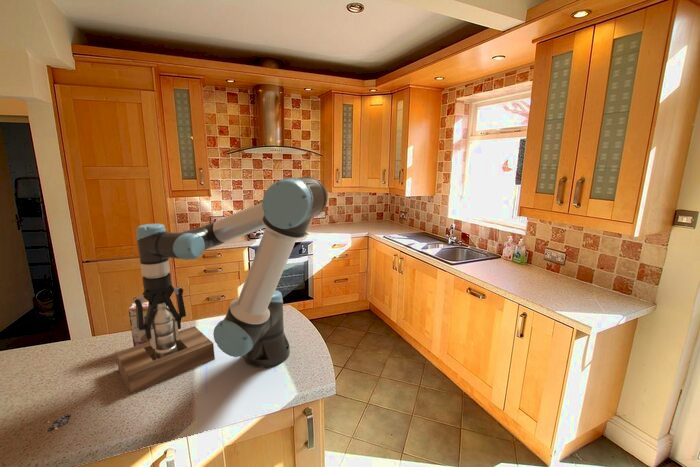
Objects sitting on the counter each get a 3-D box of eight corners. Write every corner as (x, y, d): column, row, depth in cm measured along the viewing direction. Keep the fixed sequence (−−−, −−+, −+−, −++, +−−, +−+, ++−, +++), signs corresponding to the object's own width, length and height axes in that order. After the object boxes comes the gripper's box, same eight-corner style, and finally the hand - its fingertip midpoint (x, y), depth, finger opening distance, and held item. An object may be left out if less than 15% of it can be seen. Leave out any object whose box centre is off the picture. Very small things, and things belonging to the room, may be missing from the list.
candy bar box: (134, 353, 113) (127, 309, 110) (137, 345, 118) (131, 303, 114) (170, 347, 117) (165, 304, 114) (172, 340, 122) (167, 298, 118)
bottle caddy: (214, 359, 110) (213, 343, 109) (131, 394, 94) (128, 375, 92) (196, 341, 121) (194, 326, 120) (118, 369, 104) (115, 352, 103)
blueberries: (32, 438, 80) (29, 432, 79) (58, 411, 87) (56, 405, 87) (60, 437, 80) (59, 431, 79) (84, 410, 88) (83, 405, 87)
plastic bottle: (170, 351, 111) (162, 295, 107) (183, 356, 108) (176, 299, 104) (151, 361, 106) (142, 303, 101) (164, 367, 103) (156, 307, 98)
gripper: (184, 264, 110) (191, 328, 115) (116, 279, 97) (127, 349, 102) (193, 270, 105) (200, 336, 110) (122, 285, 91) (134, 359, 96)
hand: (165, 342), depth 106 cm, fingers closed on plastic bottle, 6 cm apart
